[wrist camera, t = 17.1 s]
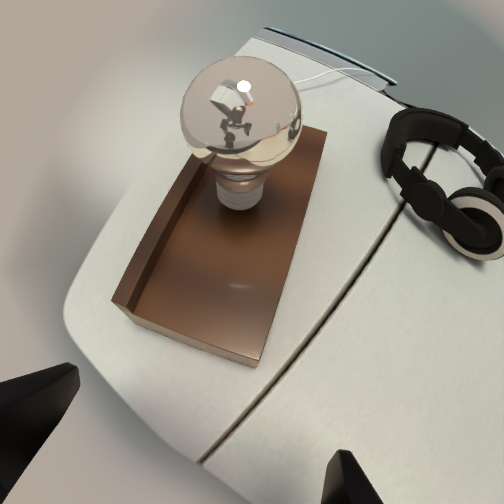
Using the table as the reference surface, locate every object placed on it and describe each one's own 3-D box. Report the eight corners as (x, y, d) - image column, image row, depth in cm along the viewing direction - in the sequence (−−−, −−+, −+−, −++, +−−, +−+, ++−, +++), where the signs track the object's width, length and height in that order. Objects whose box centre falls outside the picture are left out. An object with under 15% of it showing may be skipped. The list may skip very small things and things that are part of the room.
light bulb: (302, 216, 24) (342, 81, 13) (221, 258, 22) (210, 118, 11) (254, 158, 26) (263, 30, 16) (179, 190, 25) (154, 56, 14)
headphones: (512, 251, 18) (358, 106, 28) (465, 296, 25) (344, 162, 35) (554, 190, 23) (444, 91, 33) (524, 229, 30) (428, 134, 39)
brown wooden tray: (255, 368, 22) (261, 357, 18) (135, 323, 23) (110, 300, 19) (319, 159, 32) (330, 120, 27) (230, 135, 33) (230, 96, 29)
